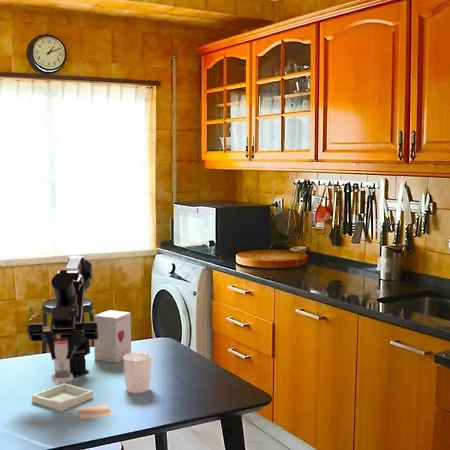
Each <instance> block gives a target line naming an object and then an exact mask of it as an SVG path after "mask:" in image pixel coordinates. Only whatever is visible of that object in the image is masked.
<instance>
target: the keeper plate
mask: <svg viewBox="0 0 450 450" xmlns="http://www.w3.org/2000/svg"><path fill="white" fill-rule="evenodd" d="M76 411H77V412H78V413H77V414H78V416H79V417H80V420H88V419H95V418H100V417H101V418H102V417H108V416H113V412H112V411H111V409H110V407H109V405H108V403H103V404H96V405H89V406H82V407H77V408H76Z"/></svg>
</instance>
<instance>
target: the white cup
mask: <svg viewBox="0 0 450 450" xmlns="http://www.w3.org/2000/svg"><path fill="white" fill-rule="evenodd" d="M122 361H123V373H124V383H125V390H126V391H127V392H129V393H133V394H137V393H138V394H139V393H145V392H148V391H150V389H151V386H150V385H151V375H152V374H151V373H152V372H151V371H152V369H151V368H152V355H151V354H150V353H149V352H143V351H137V352H134V351H133V352H131V353H129V354H126V355H124V356H123V360H122Z"/></svg>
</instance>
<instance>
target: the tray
mask: <svg viewBox="0 0 450 450" xmlns="http://www.w3.org/2000/svg"><path fill="white" fill-rule="evenodd" d="M93 398H94V391H93V390H91V389H87V388H83V387H81V386H77V385H76V386H75V385H72V384H70V383H67V382H65V383H60V384H58V385H55V386H53V387H51V388H48V389H45V390H42V391H40V392H37V393H34V394H32V395H31V399H32V400H31V401H32V403H33V404H34V403H35V404H38V405H40V406H44V407H47V408H50V409H53V410H56V411H59V412H63V411H65V410H68V409H71V408H73V407H75V406H77V405H80V404H82V403H84V402H86V401H89V400H91V399H93Z"/></svg>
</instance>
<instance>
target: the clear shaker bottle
mask: <svg viewBox="0 0 450 450" xmlns="http://www.w3.org/2000/svg"><path fill="white" fill-rule="evenodd" d="M68 357H69V339H68V338H58V337H57V338H55V339H54V360H53V361H54V374H52V375H51V381H52V382H53V383H58V384H63V383H70V382H71V381H73V380H74V377H73V374H72V373H70V360H69V358H68Z"/></svg>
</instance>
